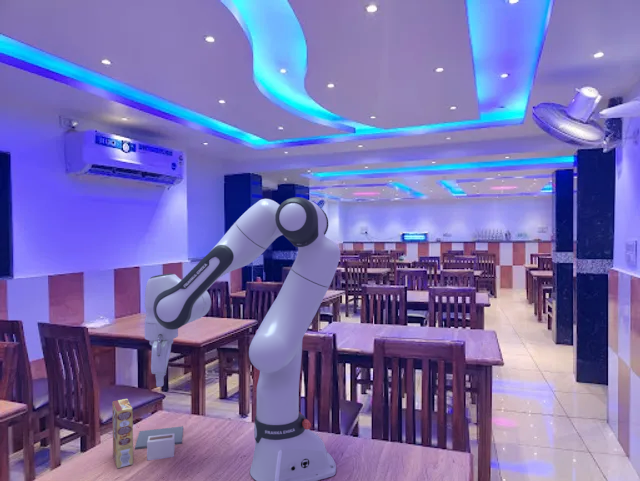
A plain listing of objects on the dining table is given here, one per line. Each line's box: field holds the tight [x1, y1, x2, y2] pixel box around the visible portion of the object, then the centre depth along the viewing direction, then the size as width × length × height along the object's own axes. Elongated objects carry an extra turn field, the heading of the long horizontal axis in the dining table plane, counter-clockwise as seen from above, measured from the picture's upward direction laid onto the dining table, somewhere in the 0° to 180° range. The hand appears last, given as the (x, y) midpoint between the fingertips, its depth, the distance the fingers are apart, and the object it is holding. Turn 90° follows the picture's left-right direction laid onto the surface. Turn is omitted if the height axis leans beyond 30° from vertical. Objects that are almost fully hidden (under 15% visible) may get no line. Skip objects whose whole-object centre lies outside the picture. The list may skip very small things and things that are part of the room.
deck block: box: [146, 433, 176, 461], centre depth 120 cm, size 7×4×5 cm, turn 106°
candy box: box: [112, 398, 134, 469], centre depth 118 cm, size 9×4×15 cm, turn 33°
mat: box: [134, 425, 184, 450], centre depth 131 cm, size 13×11×1 cm
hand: (161, 380), depth 120 cm, fingers open, 8 cm apart
